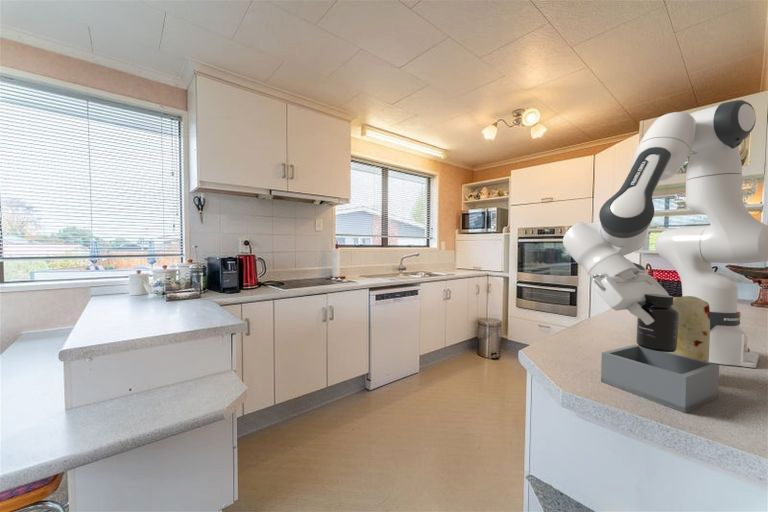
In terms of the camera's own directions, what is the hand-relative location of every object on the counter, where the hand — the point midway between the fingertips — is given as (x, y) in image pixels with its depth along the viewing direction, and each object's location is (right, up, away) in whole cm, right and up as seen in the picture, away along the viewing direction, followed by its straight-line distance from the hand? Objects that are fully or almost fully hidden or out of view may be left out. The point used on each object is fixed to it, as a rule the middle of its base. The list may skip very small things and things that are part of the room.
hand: (661, 321), depth 67 cm
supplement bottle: (0, -6, +1) cm, 6 cm away
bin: (0, -16, +1) cm, 16 cm away
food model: (+14, -16, +8) cm, 23 cm away
